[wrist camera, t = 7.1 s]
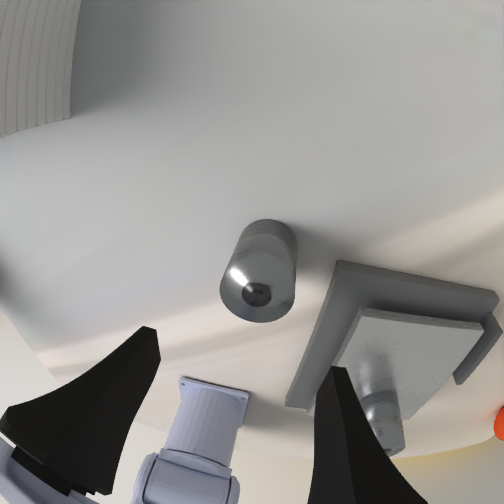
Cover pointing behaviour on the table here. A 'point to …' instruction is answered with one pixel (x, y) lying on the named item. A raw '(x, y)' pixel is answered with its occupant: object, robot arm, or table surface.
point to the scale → (395, 300)
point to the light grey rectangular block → (36, 62)
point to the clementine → (499, 425)
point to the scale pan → (403, 355)
